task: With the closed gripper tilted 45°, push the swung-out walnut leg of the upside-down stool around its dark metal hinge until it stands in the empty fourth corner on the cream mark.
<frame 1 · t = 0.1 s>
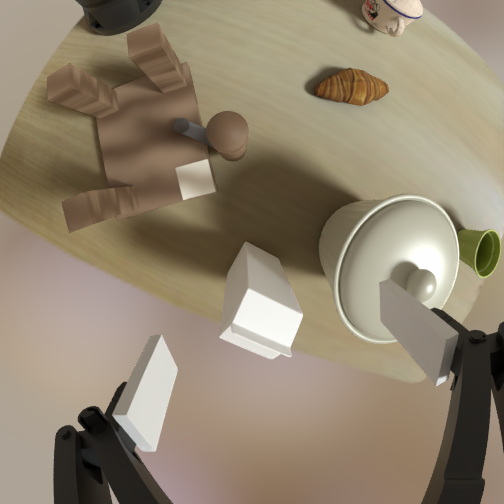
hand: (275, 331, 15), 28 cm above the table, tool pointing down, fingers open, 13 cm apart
canister: (353, 241, 43), on the table
plant pot: (461, 242, 44), on the table
croissant: (350, 90, 37), on the table
hinged leg: (201, 128, 28), point 10 cm above the table, hinge at 50.0°
milk: (252, 265, 43), on the table
stool seat: (152, 140, 37), on the table
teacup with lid: (381, 23, 32), on the table
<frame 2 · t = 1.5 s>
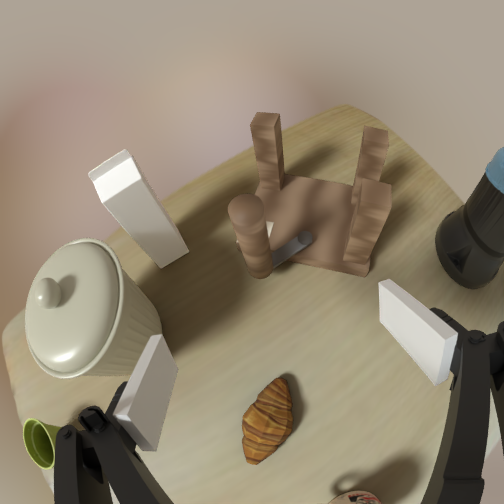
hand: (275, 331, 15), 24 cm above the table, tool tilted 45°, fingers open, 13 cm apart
canister: (132, 336, 41), on the table
plant pot: (70, 443, 31), on the table
croissant: (268, 421, 32), on the table
hinged leg: (279, 228, 34), point 10 cm above the table, hinge at 50.0°
milk: (169, 248, 48), on the table
stool seat: (310, 222, 46), on the table
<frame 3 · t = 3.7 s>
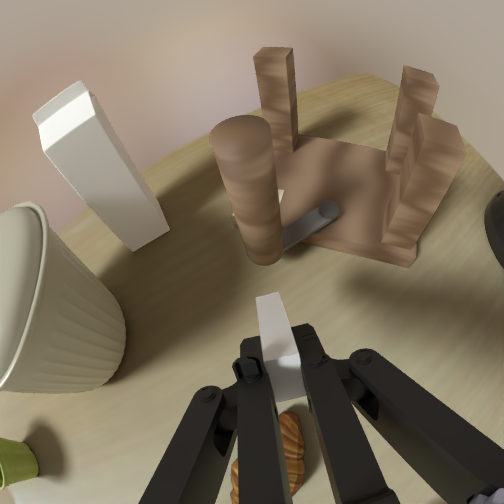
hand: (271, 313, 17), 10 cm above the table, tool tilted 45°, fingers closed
canister: (92, 340, 29), on the table
plant pot: (29, 460, 20), on the table
croissant: (269, 469, 20), on the table
hinged leg: (294, 185, 22), point 10 cm above the table, hinge at 50.0°
milk: (146, 226, 36), on the table
stool seat: (333, 194, 33), on the table
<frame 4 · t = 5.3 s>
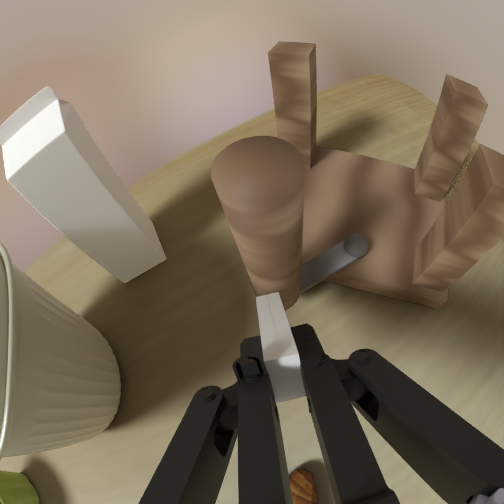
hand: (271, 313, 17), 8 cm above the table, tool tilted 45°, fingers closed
canister: (85, 381, 24), on the table
plant pot: (29, 490, 15), on the table
hinged leg: (322, 226, 17), point 10 cm above the table, hinge at 46.5°, touching gripper
milk: (139, 253, 31), on the table
stool seat: (356, 219, 29), on the table
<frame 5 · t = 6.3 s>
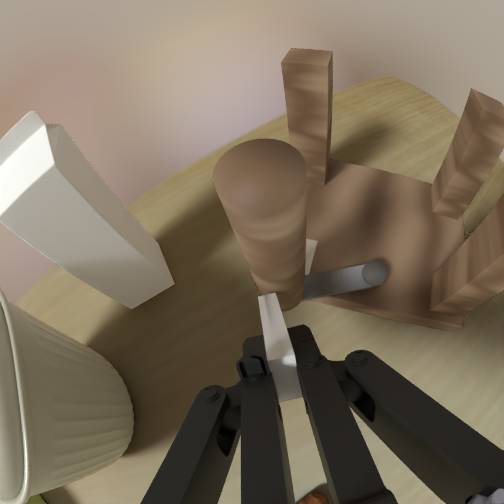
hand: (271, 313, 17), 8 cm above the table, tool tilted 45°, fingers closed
canister: (96, 407, 23), on the table
hinged leg: (334, 244, 16), point 10 cm above the table, hinge at 24.7°, touching gripper
milk: (146, 276, 30), on the table
stool seat: (372, 239, 27), on the table
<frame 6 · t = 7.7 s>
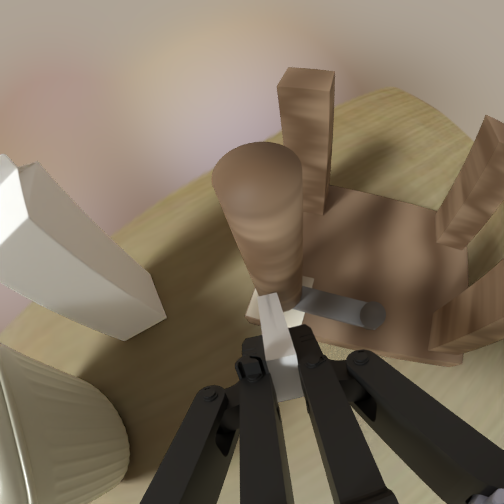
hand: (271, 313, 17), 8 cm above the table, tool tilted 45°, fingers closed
canister: (92, 434, 21), on the table
hinged leg: (331, 269, 16), point 10 cm above the table, hinge at -1.1°, touching gripper
milk: (137, 307, 28), on the table
stool seat: (372, 272, 26), on the table
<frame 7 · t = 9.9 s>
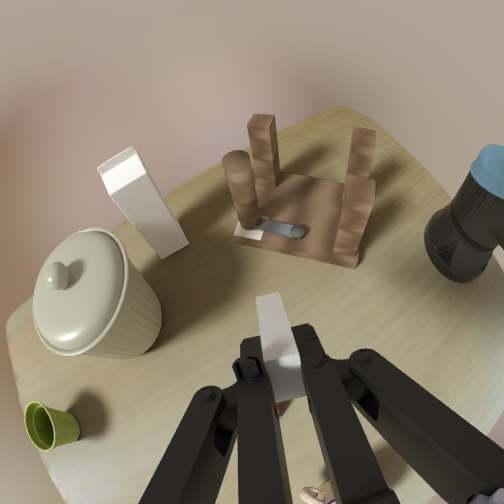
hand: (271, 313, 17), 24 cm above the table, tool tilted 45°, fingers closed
canister: (133, 323, 44), on the table
plant pot: (70, 427, 34), on the table
hinged leg: (268, 199, 39), point 10 cm above the table, hinge at -1.1°
milk: (171, 241, 51), on the table
stool seat: (304, 217, 49), on the table
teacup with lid: (332, 494, 26), on the table
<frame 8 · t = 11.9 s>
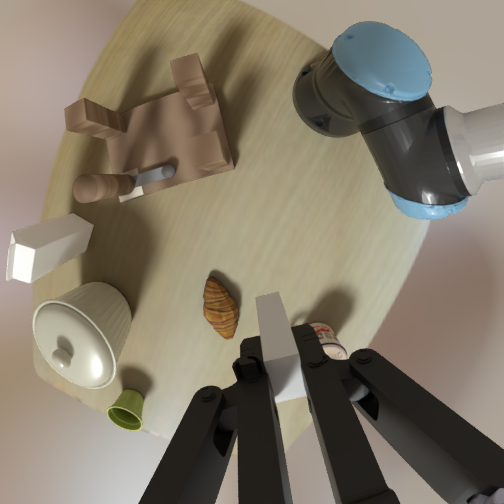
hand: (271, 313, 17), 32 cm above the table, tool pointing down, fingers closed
canister: (107, 307, 52), on the table
plant pot: (133, 396, 59), on the table
croissant: (221, 306, 53), on the table
hinged leg: (129, 178, 35), point 10 cm above the table, hinge at -1.1°
milk: (79, 231, 47), on the table
stool seat: (166, 142, 44), on the table
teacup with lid: (307, 338, 55), on the table
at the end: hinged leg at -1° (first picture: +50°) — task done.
